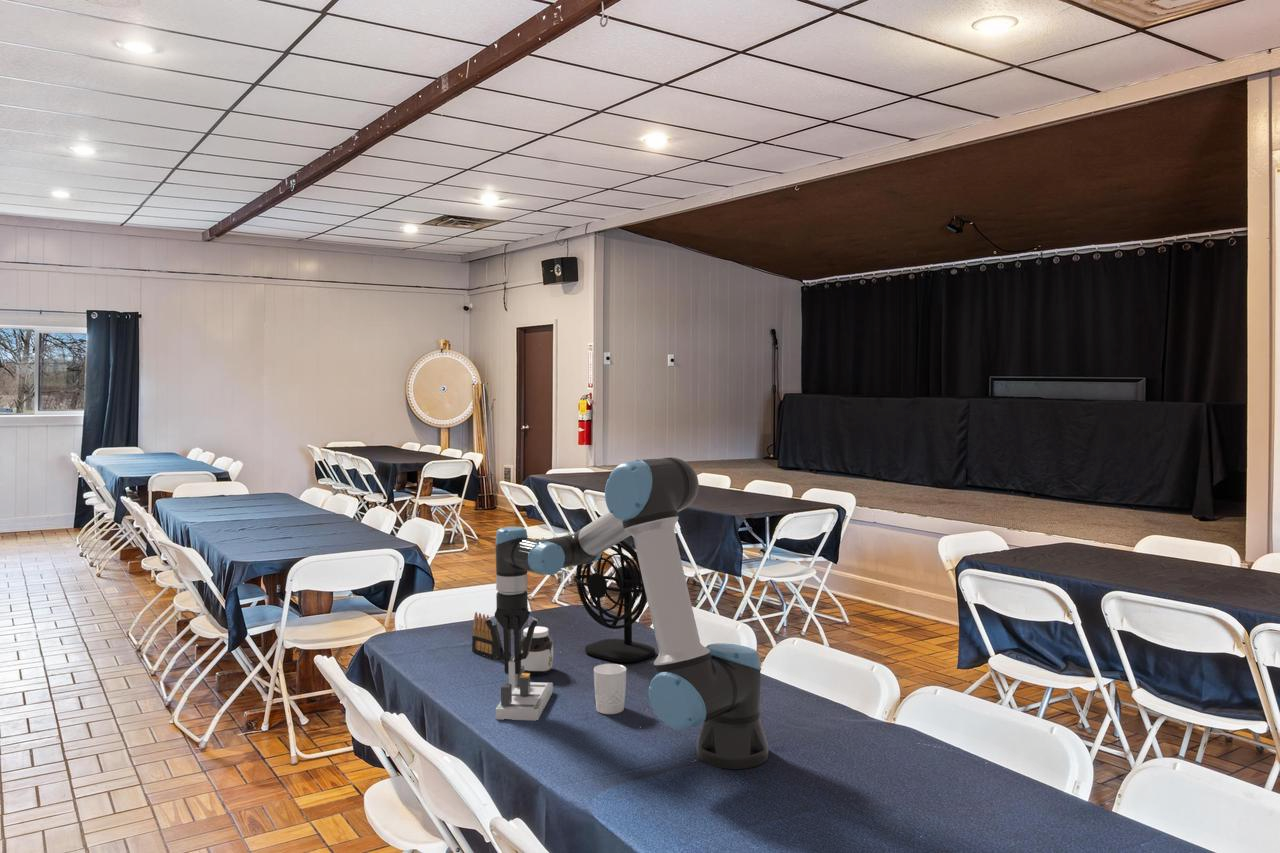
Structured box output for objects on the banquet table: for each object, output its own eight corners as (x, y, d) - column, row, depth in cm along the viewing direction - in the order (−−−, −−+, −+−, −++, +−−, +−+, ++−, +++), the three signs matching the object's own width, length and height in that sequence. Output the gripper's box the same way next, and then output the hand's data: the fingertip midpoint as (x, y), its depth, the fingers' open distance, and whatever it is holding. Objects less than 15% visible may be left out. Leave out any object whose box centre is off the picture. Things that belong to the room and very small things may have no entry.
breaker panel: (537, 720, 210) (537, 709, 210) (495, 719, 211) (495, 708, 211) (552, 692, 229) (552, 682, 229) (514, 691, 230) (513, 681, 230)
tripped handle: (528, 695, 219) (528, 676, 219) (520, 695, 219) (519, 676, 219) (530, 692, 221) (530, 673, 221) (522, 692, 221) (522, 673, 221)
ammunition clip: (500, 658, 258) (500, 616, 258) (495, 659, 257) (495, 618, 256) (476, 651, 265) (476, 610, 265) (471, 652, 264) (471, 611, 263)
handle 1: (509, 705, 212) (509, 687, 212) (501, 705, 212) (500, 687, 212) (511, 702, 215) (511, 684, 214) (503, 702, 215) (503, 683, 215)
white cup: (622, 716, 213) (622, 675, 212) (590, 714, 214) (589, 672, 214) (629, 704, 221) (629, 664, 220) (598, 702, 222) (598, 662, 222)
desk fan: (562, 652, 264) (561, 533, 262) (603, 639, 277) (602, 526, 275) (632, 671, 246) (632, 544, 245) (672, 656, 260) (672, 535, 258)
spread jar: (540, 679, 240) (540, 635, 239) (503, 674, 244) (502, 632, 243) (560, 665, 251) (559, 624, 251) (523, 661, 255) (523, 620, 255)
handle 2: (522, 685, 226) (522, 668, 226) (514, 685, 226) (514, 668, 226) (524, 682, 229) (524, 665, 228) (516, 682, 229) (516, 665, 228)
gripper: (541, 587, 222) (542, 682, 223) (489, 587, 223) (490, 680, 225) (535, 595, 215) (536, 692, 216) (481, 594, 216) (482, 691, 217)
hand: (513, 686), depth 220 cm, fingers closed
